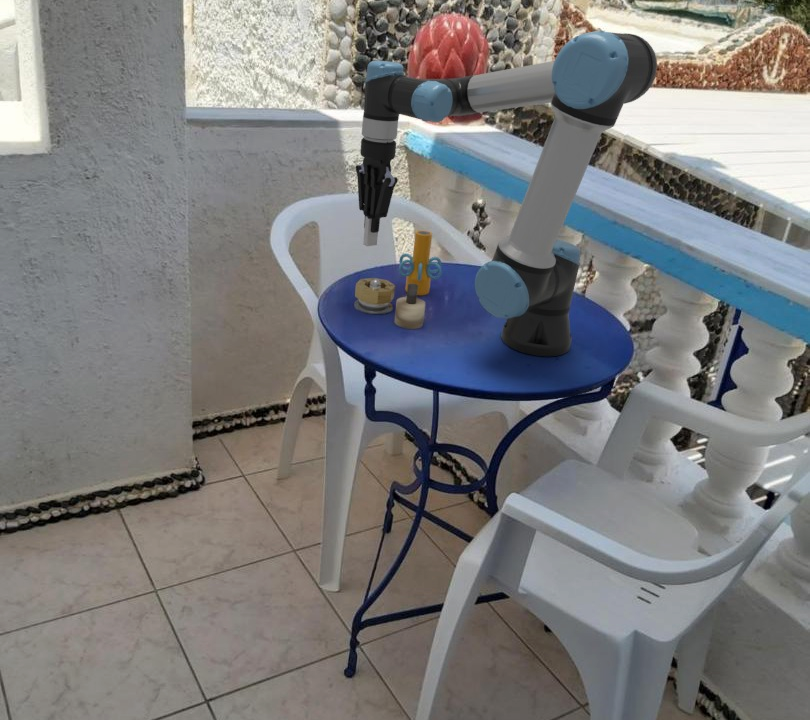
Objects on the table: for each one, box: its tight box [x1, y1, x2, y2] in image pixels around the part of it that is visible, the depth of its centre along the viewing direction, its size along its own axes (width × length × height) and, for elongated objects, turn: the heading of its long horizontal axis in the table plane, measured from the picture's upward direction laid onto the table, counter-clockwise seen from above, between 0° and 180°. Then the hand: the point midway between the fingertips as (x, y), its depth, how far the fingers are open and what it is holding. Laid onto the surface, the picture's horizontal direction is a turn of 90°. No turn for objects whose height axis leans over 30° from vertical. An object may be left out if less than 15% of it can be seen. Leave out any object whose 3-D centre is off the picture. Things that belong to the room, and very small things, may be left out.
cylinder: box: [398, 229, 442, 296], centre depth 187 cm, size 12×10×15 cm
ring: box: [354, 277, 396, 304], centre depth 176 cm, size 8×8×3 cm
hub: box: [353, 278, 394, 316], centre depth 177 cm, size 9×9×7 cm
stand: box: [394, 284, 426, 330], centre depth 170 cm, size 6×6×9 cm
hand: (370, 244), depth 174 cm, fingers closed
